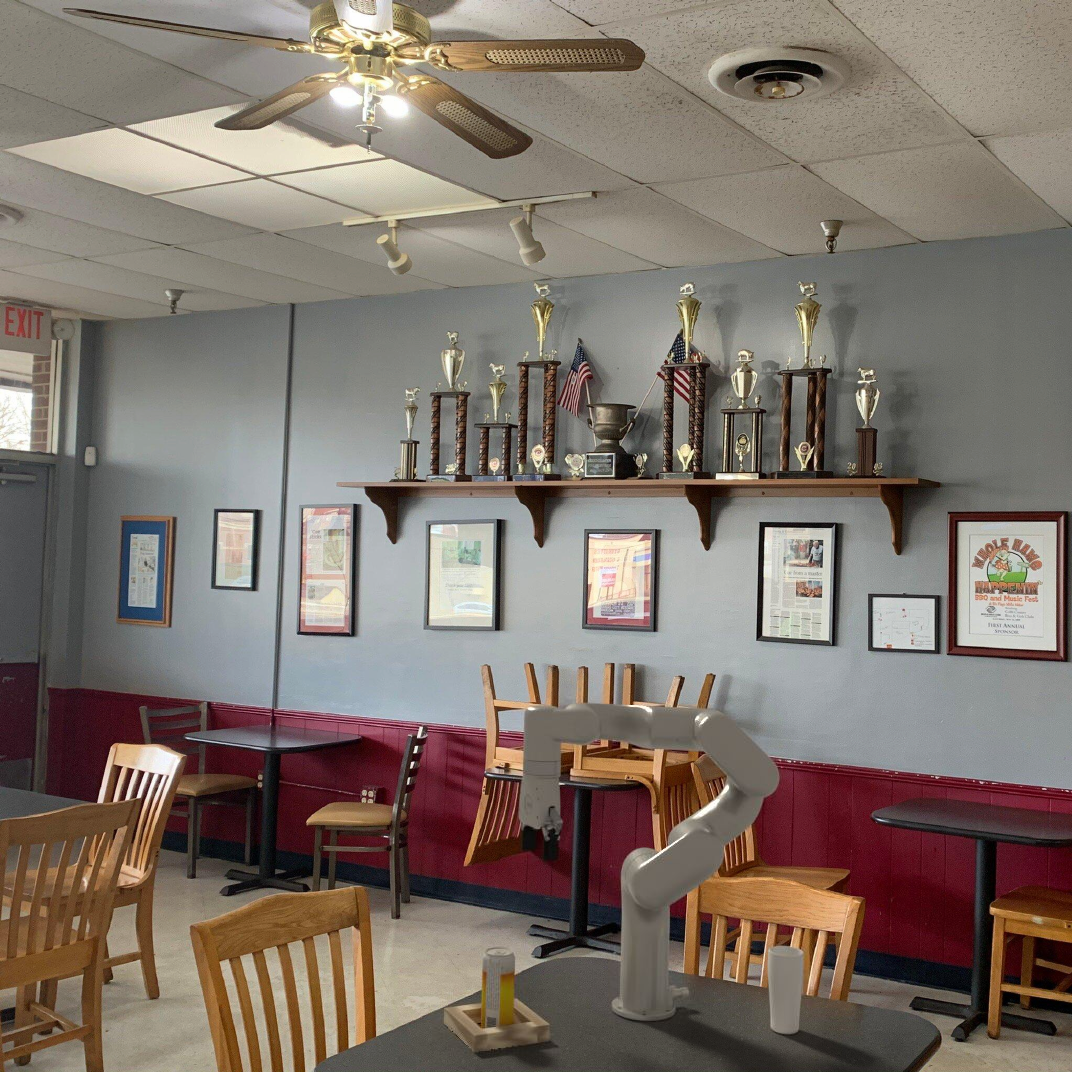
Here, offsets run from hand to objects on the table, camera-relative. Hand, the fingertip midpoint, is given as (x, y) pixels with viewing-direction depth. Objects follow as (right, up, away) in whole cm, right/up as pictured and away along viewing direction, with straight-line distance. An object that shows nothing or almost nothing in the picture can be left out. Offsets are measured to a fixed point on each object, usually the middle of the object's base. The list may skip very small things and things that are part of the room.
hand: (539, 855), depth 237 cm
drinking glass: (+47, -32, -8) cm, 57 cm away
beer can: (-8, -30, -14) cm, 34 cm away
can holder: (-8, -30, -14) cm, 34 cm away
